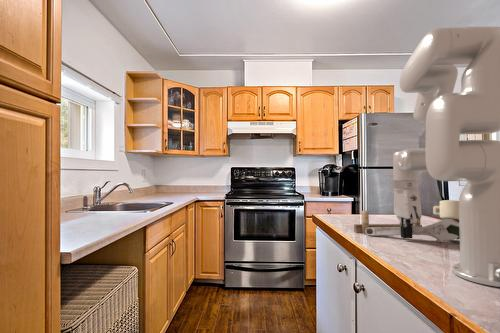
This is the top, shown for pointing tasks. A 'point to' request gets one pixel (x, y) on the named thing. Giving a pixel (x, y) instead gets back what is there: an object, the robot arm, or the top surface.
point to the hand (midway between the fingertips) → (406, 237)
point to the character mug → (449, 214)
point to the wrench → (421, 230)
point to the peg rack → (365, 224)
